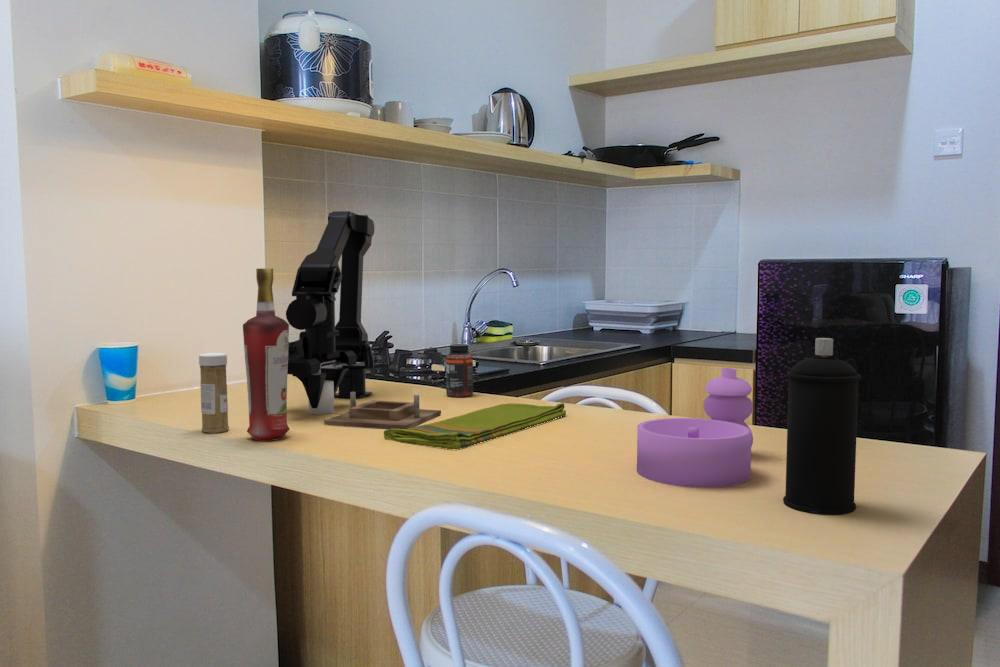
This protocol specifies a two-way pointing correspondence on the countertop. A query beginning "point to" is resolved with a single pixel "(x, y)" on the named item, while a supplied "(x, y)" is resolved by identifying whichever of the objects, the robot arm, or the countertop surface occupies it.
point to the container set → (701, 440)
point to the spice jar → (213, 392)
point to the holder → (383, 414)
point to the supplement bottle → (459, 371)
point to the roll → (325, 400)
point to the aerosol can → (821, 433)
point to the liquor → (266, 365)
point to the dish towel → (477, 425)
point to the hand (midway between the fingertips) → (321, 406)
